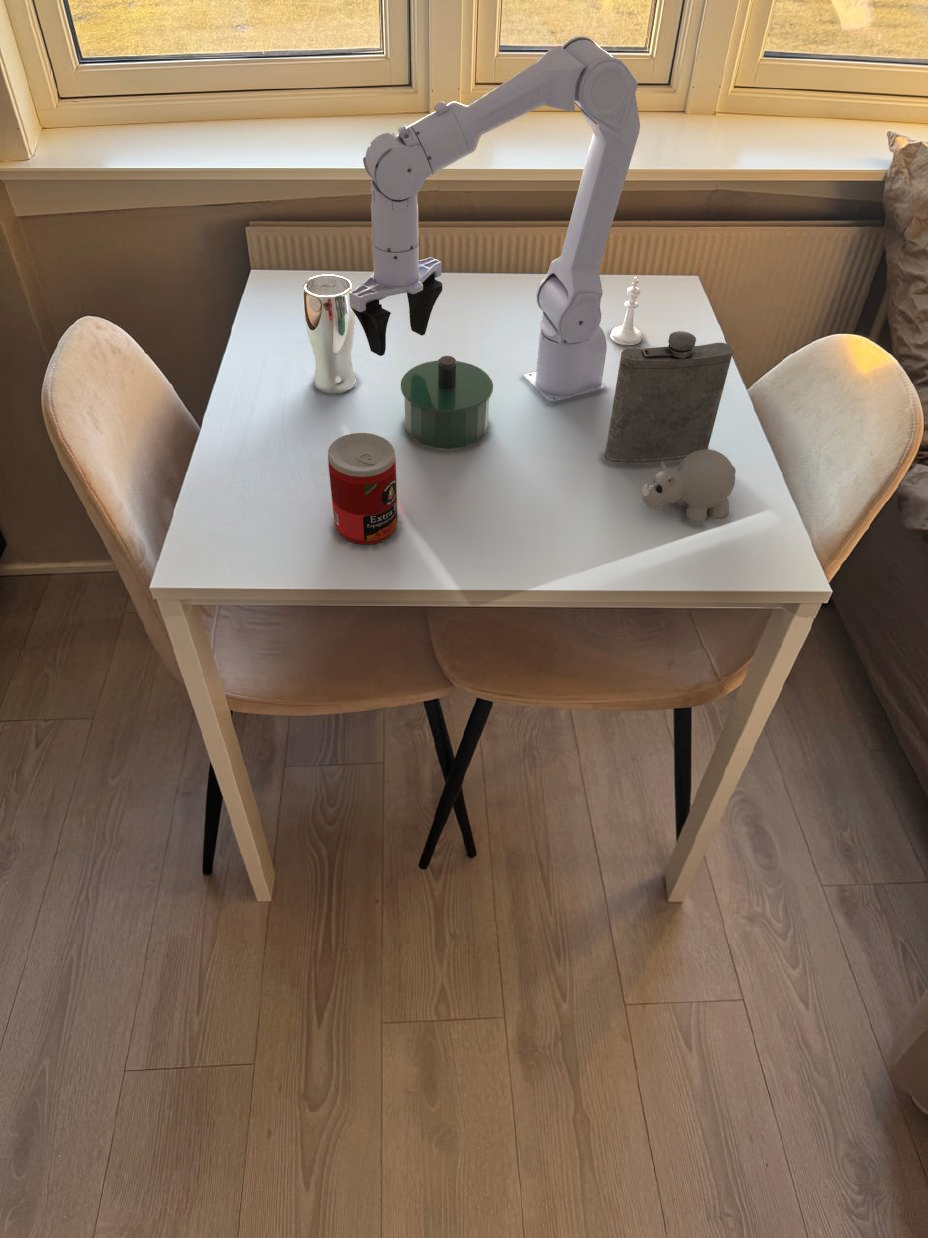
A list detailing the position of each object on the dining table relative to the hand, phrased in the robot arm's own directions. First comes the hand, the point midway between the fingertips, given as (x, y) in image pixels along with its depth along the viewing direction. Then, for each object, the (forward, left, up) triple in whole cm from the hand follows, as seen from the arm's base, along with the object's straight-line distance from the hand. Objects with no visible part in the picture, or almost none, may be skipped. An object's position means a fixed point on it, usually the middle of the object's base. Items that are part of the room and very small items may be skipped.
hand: (398, 342), depth 125 cm
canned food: (+14, +22, -11) cm, 28 cm away
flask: (-27, +25, -11) cm, 38 cm away
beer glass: (+6, -10, -11) cm, 16 cm away
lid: (-4, +7, -4) cm, 9 cm away
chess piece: (-41, -4, -11) cm, 43 cm away
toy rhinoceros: (-23, +36, -11) cm, 44 cm away
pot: (-4, +7, -10) cm, 13 cm away
